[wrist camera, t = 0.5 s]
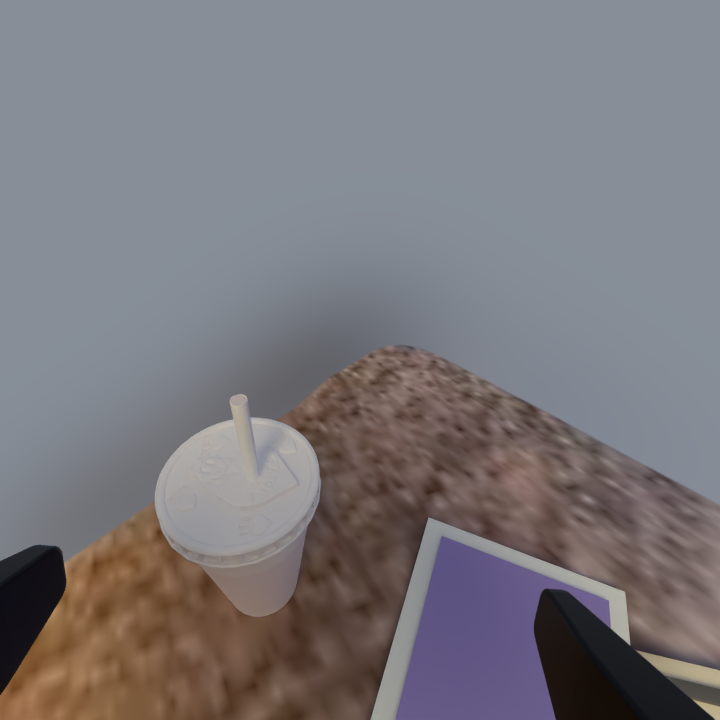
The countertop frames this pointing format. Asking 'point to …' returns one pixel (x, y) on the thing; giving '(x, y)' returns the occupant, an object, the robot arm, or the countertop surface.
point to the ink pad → (478, 631)
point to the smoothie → (242, 506)
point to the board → (691, 681)
